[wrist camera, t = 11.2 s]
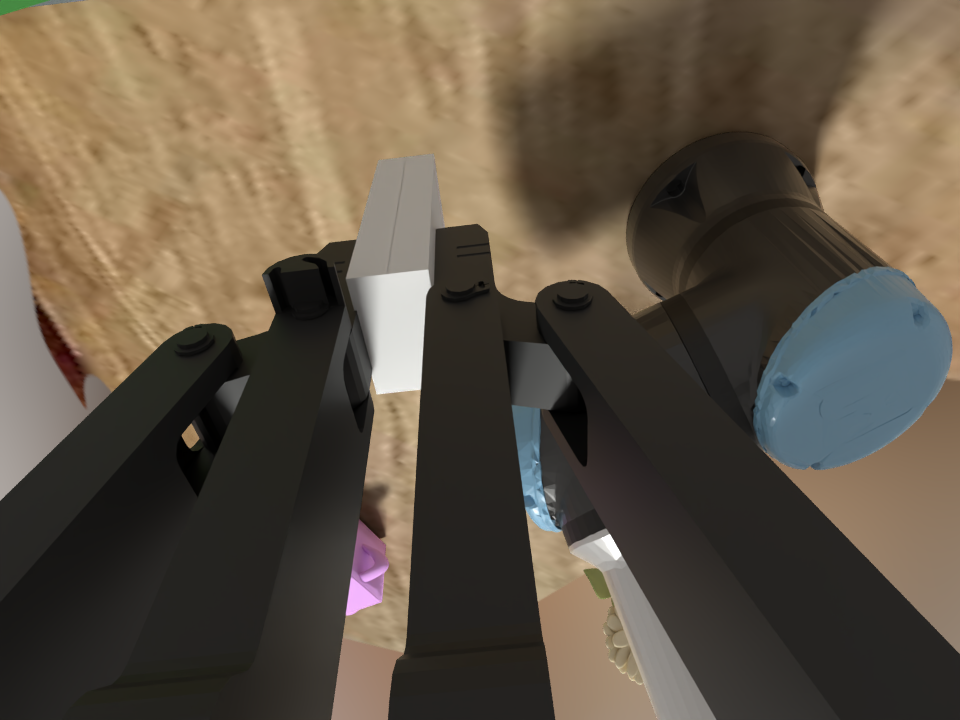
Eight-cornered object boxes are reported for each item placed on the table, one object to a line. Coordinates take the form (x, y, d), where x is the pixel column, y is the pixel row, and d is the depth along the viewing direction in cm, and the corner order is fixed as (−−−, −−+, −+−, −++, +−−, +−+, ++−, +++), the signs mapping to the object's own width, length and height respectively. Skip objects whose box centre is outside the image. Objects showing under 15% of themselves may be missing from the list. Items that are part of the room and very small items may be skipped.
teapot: (300, 580, 81) (285, 656, 73) (230, 526, 73) (206, 605, 65) (416, 539, 77) (415, 615, 69) (357, 477, 69) (347, 554, 61)
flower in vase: (658, 473, 72) (743, 694, 52) (576, 513, 75) (628, 732, 56) (605, 412, 65) (681, 641, 45) (518, 459, 68) (554, 689, 49)
